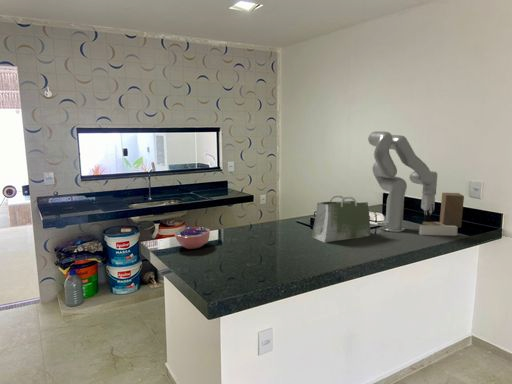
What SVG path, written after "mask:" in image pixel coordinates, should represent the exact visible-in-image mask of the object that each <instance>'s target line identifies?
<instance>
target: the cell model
mask: <svg viewBox="0 0 512 384" xmlns="http://www.w3.org/2000/svg"><path fill="white" fill-rule="evenodd" d="M210 232H211V229H210V228H208V227H205V226H198V227H197V226H196V227H192V226H186V227H185V228H180V229H179V230H177V231H175V233H174V236H175V240H176V241H177V242H178V244H179V245H180V246H181V247H183V248H185V249H187V250H188V249H189V250H191V249H192V250H193V249H195V250H196V249H198V248H201V247H203V246H204V245H205V244H207V243H208V242H209V240H210V235H211V233H210Z"/></svg>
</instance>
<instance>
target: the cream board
mask: <svg viewBox="0 0 512 384" xmlns="http://www.w3.org/2000/svg"><path fill="white" fill-rule="evenodd" d="M458 229H459V228H458V227H457V226H442V225H422V224H419V226H418V235H420V236H456V237H457V235H458Z"/></svg>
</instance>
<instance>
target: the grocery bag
mask: <svg viewBox="0 0 512 384" xmlns="http://www.w3.org/2000/svg"><path fill="white" fill-rule="evenodd" d="M335 198H340V199H341V201H333V199H335ZM348 199H349V200H348ZM345 200H346V201H345ZM315 210H316V212H315V218H314V223H313V227H312V231H311V234H310V238H314V239H316V240H318V241H320V242H323V243H326V244H327V243H330V242H335V241H336V242H337V241H342V240H345V241H346V240H351V239H361V238H365V237H370V236H371V235H372V234H371V223H370V221H371V220H370V211H369V210H370V209H369V203H368V201H367V202H366V201H365V202H358V201H357V200H356V199H355V198H354V197H352V196H346V197H345V196H343V195H334V196H332V197H331V198H330V199H329V201H322V202H317V203H316V209H315Z"/></svg>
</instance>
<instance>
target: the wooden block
mask: <svg viewBox="0 0 512 384" xmlns="http://www.w3.org/2000/svg"><path fill="white" fill-rule="evenodd" d="M464 199H465V196H464V195H463V194H461V193H459V192H441V200H440V201H441V204H440V213H439V222H440V223H442V224H444V225H446V226H457V227H458V229H460V228H462V224H463V223H462V222H463V220H462V219H463V211H464Z"/></svg>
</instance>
